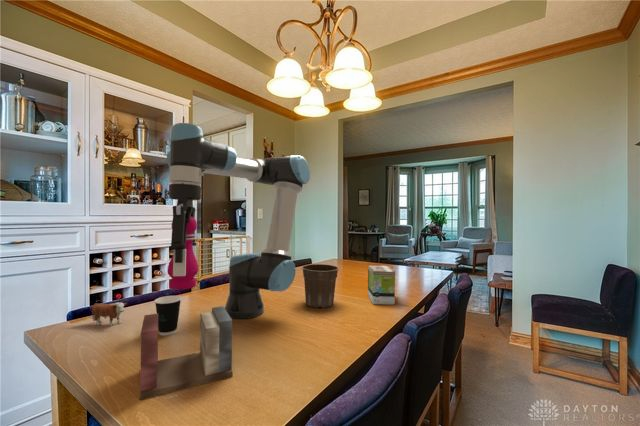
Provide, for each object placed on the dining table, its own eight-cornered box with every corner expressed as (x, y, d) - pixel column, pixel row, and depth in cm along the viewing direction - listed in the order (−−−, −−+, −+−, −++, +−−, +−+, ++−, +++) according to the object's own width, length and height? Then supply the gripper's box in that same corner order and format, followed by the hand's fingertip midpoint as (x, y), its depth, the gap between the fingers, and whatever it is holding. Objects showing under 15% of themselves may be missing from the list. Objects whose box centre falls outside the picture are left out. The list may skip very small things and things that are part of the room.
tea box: (395, 304, 126) (395, 271, 126) (372, 304, 126) (372, 270, 126) (387, 295, 141) (388, 264, 141) (367, 295, 141) (367, 264, 141)
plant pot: (345, 302, 129) (345, 266, 129) (326, 312, 115) (326, 272, 115) (314, 296, 138) (315, 262, 138) (294, 305, 124) (294, 267, 124)
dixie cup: (152, 339, 90) (152, 303, 90) (155, 329, 97) (155, 297, 97) (180, 335, 93) (181, 301, 93) (181, 326, 100) (182, 294, 100)
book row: (222, 351, 82) (222, 303, 82) (232, 376, 70) (233, 319, 70) (144, 368, 73) (144, 313, 73) (139, 399, 61) (140, 334, 61)
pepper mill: (160, 289, 72) (162, 208, 72) (179, 282, 79) (181, 209, 79) (186, 290, 70) (188, 208, 71) (203, 284, 77) (205, 210, 78)
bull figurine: (120, 328, 98) (120, 304, 98) (87, 325, 101) (88, 301, 101) (131, 323, 102) (131, 300, 102) (99, 320, 105) (99, 298, 105)
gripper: (192, 180, 66) (190, 280, 66) (207, 188, 86) (205, 266, 85) (157, 178, 65) (153, 281, 64) (180, 187, 84) (177, 266, 84)
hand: (183, 272), depth 75 cm, fingers closed on pepper mill, 7 cm apart
